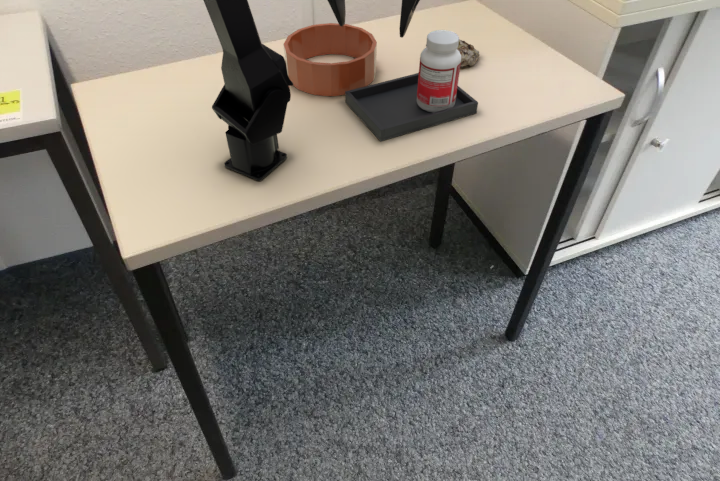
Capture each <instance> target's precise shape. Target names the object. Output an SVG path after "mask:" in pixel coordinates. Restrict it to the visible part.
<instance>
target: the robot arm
mask: <svg viewBox="0 0 720 481" xmlns="http://www.w3.org/2000/svg"><path fill="white" fill-rule="evenodd" d="M327 2H328V5H329V6H330V8H331V11H332V13H333V15H334V17H335V19H336V20H337V21H336V22H337V23H338V24H339V25H340V26H344V24H346V13H347V12H346V0H327ZM420 2H421V0H401V7H400V19H399V38H402V39H403V38H404V37H405V35H406V33H407V31H408V28H409V26H410V23H411V22H412V19H413V16H414V14H415V11H416V9H417V8H418V5H419V3H420ZM203 3H204V5H205V8H206V11H207V13H208V16H209V19H210V21H211V23H212V26H213V28H214V31H215V33H216V36H217V38H218V42H219V44H220V46H221V49H222V58H221V65H220V69H221V74H222V79H223V83H224V84H223V86H222V88H221V89H220V91H219V93H218V95H217V97H216V99H215V100H214V102H213V104H212V105H211V109H212V111H213V112H214V114H215V115H216V116H217V118H218V119H220V120H221V121H223V122H224V123H226V125H227V130H226V131H225V133H224V134H225V138H226V142H227V146H228V151H229V157H230V158H229V159H227V160H226V161H225V162H224V163H223V166H224V167H225V168H226V169H229V170H231V171H233V172H236V173H238V174H240V175H243V176H245V177H248V178H249V179H253V180H255V181H259V182H260V181H262V180H264V178H266V177H267V176H268V175H270V174H271V173H272V172H273V171H274V170H275V169H276V168H277V167H279V166H280V165H281V164H282V163H284V161H285V160H287V159H288V154H287V153H286V152H283V151H281V150H279V149H280V146H279V140H278V139H279V138H278V134H281V133H282V132H283V127H284V123H285V118H286V112H287V107H288V103H290V102H291V97H292V92H291V88H290V87H292V86H293V83H292V81H291V80H290V79H289V77H288V74H287V67H286V62H285V56H283V55H281V54H280V53H278V52H277V51H275V50H274V49H272V48H271V47H269V46H267V45H265V44H263V43H262V40H261V38H260V35H259V34H260V33H259V31H258V28H257V26H256V25H257V24H256V21H255V19H254V16H253V13H252V9H251V6H250V4H249V1H248V0H203Z"/></svg>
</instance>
